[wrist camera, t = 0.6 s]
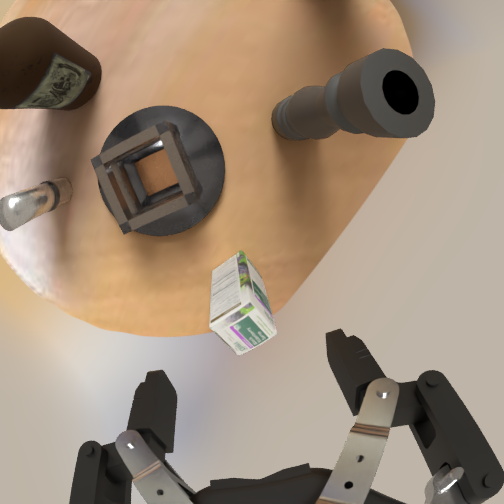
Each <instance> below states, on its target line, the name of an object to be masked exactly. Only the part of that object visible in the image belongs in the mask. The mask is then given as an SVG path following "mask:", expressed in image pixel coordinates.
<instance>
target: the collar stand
mask: <svg viewBox="0 0 504 504" xmlns="http://www.w3.org/2000/svg"><path fill="white" fill-rule="evenodd" d="M91 162H92V165H93V167H94V170H95V172H96V174H97V177H98V184H99V189H100V193H101V195H102V198H103V200H104V202H105V204H106V206H107V207H108V209H109V210H110V212H111V213H112V214H113V215H114V216H115V218H116V220H117V222H118V224H119V226H120V228H121V230H122V232H123V234H126V233H128V232H130V231H132V230H134V231H136V232H139V233H142V234H146V235H151V236H168V235H173V234H177V233H180V232H183V231H185V230H187V229H189V228H191V227H193V226H194V225H196V224H197V223H199V222H200V221H201V220H202V219H203V218H204V217H205V216H206V215H207V214H208V213H209V212H210V211H211V209H212V208H213V206H214V205H215V203H216V201H217V199H218V198H219V195H220V193H221V190H222V187H223V182H224V175H225V161H224V156H223V151H222V148H221V145H220V143H219V141H218V139H217V137H216V135H215V134H214V132H213V131H212V129H211V128H210V127H209V126H208V125H207V124H206V123H205V122H204V121H203V120H202V119H201V118H199V117H198V116H196V115H195V114H193V113H191V112H189V111H187V110H185V109H181V108H178V107H173V106H154V107H148V108H145V109H142V110H139V111H137V112H135V113H133V114H131V115H129V116H128V117H126V118H125V119H124V120H122V121H121V122H120V123H119V124H118V125H117V126H116V127H115V128H114V129H113V130H112V132H111V133H110V134H109V136H108V138H107V139H106V141H105V143H104V145H103V148H102V150H101V153H100V154H99V155H98V156H96V157H94V158H93V159H91Z"/></svg>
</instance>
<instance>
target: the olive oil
mask: <svg viewBox="0 0 504 504" xmlns="http://www.w3.org/2000/svg"><path fill="white" fill-rule="evenodd" d="M100 79H101V65H100V63H99V61H98V59H97V58H96V57H95V56H94V55H92V54H91V53H90V52H88V51H87V50H85V49H84V48H83V47H81V46H80V45H78V44H77V43H76V42H75V41H73V40H72V39H71V38H69V37H68V36H67V35H65V34H64V33H63V32H61V31H60V30H59V29H57V28H56V27H55V26H54V25H52V24H51V23H50V22H48V21H46V20H44V19H42V18H37V17H23V18H19V19H16V20H13V21H11V22H9V23H8V24H6V25H4V26H3V27H1V28H0V109H24V108H35V109H57V110H73V109H76V108H78V107H80V106H82V105H83V104H85V103H86V102H87V101H88V100H89V99H90V98H91V97H92V96H93V94H94V93H95V91H96V90H97V88H98V85H99V83H100Z"/></svg>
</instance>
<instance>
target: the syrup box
mask: <svg viewBox="0 0 504 504" xmlns="http://www.w3.org/2000/svg"><path fill="white" fill-rule="evenodd" d="M209 327H210V329H211V330H212V331H214V332H215V333H216V334H217V335H218V337H219V338H220V339H221V340H222V341H223V342H224V343H225V344H226V345H227V346H228V347H229V348H230V349H232V350H233V351H234V352H235V353H236V354H237V355H238V356H240V355H242V354H244V353H246V352H248V351H250V350H252V349H254V348H256V347H258V346H260V345H261V344H263V343H265V342H266V341H268V340H269V339H271V338H272V337H274V336H275V335H277V329H276V326H275V322H274V319H273V315H272V311H271V308H270V304H269V300H268V297H267V293H266V290H265V286H264V283H263V280H262V277H261V275H260V274H259V272H258V271H257V269H256V268H255V267H254V265H253V264H252V263H251V261H250V260H249V259H248V257H247V256H246V255H245V254H244V252H243V251H242V250H241V251H239V252H238V253H237V254H235V255H234V256H232V257H231V258H229V259H228V260H227V261H225V262H224V263H222V264H221V265H220V266H218V267H217V268H215V269H214V270H213V271H212V281H211V302H210V325H209Z"/></svg>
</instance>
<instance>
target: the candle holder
mask: <svg viewBox="0 0 504 504" xmlns="http://www.w3.org/2000/svg"><path fill="white" fill-rule="evenodd" d="M434 107H435V99H434V94H433V89H432V85H431V83H430V81H429V79H428V77H427V75H426V73H425V72H424V70H423V69H422V68H421V67H420V66H419V64H417V62H416V61H415V60H414V59H413V58H412V57H410V56H408V55H406V54H405V53H403V52H401V51H399V50H394V49H381V50H378V51H376V52H374V53H372V54H369V55H367V56H365V57H363V58H361V59H359V60H357V61H355V62H353V63H351V64H349V65H347V67H346V68H345V70H344V71H343V72H341V73H339V74H337V75H335V76H333V77H331V79H330V80H329V82H328V83H327V85H326V86H325V87H323V86H308V87H304V88H302V89H300V90H299V91H297V92H295V93H294V95H293V96H289V97H288V98H286V99H284V100H283V101H281V102H280V103H278V104H277V105H276V107H275V108H274V110H273V113H272V118H271V119H272V123H273V127H274V129H275V130H276V131H277V133H278V134H279V135H281V136H282V137H284V138H285V139H289V140H305V139H310V138H311V139H315V140H317V139H324V138H328V137H329V136H331V135H333V134H334V133H336V132H337V131H338V130H339V129H342V130H344V131H347V132H350V133H353V134H360V133H366V134H369V135H371V136H374V137H388V138H411V137H417V136H418V135H420V134H421V133H423V132H424V131H426V130H427V128H428V127H429V125H430V123H431V121H432V119H433V117H434Z"/></svg>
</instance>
